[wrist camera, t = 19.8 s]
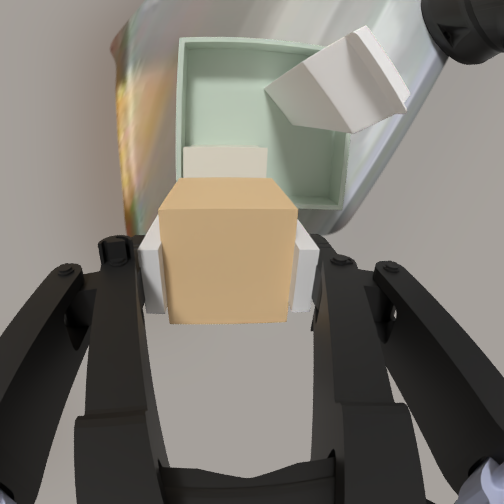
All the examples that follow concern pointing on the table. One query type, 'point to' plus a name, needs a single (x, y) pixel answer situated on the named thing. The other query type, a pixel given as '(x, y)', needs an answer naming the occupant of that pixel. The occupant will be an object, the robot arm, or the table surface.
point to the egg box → (224, 161)
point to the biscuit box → (227, 250)
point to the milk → (342, 86)
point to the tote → (257, 115)
